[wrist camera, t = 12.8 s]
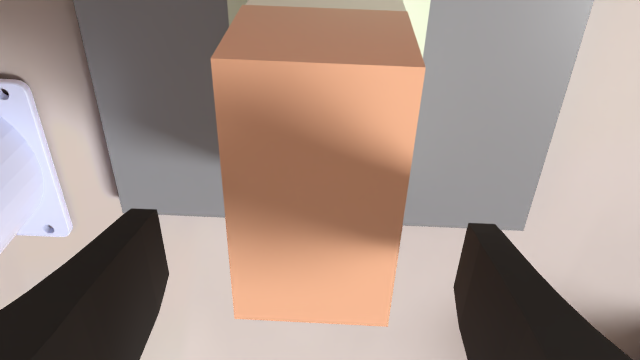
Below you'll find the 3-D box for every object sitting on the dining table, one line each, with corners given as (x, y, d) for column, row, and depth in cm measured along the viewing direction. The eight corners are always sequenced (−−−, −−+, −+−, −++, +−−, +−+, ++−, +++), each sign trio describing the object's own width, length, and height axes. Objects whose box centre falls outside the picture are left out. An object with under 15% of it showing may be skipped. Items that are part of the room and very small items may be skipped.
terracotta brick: (254, 232, 19) (234, 318, 16) (242, 4, 14) (210, 57, 11) (380, 237, 19) (387, 326, 15) (407, 11, 14) (425, 67, 11)
